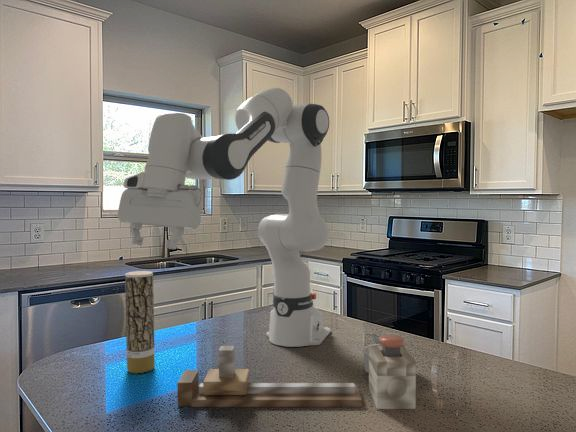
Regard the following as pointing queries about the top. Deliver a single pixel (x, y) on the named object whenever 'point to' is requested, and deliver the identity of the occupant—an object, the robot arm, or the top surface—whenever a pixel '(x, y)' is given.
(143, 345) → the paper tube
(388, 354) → the button
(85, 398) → the top surface
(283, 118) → the robot arm
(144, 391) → the top surface
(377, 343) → the saucepan
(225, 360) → the carriage
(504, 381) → the top surface
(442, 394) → the top surface
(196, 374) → the rail track
